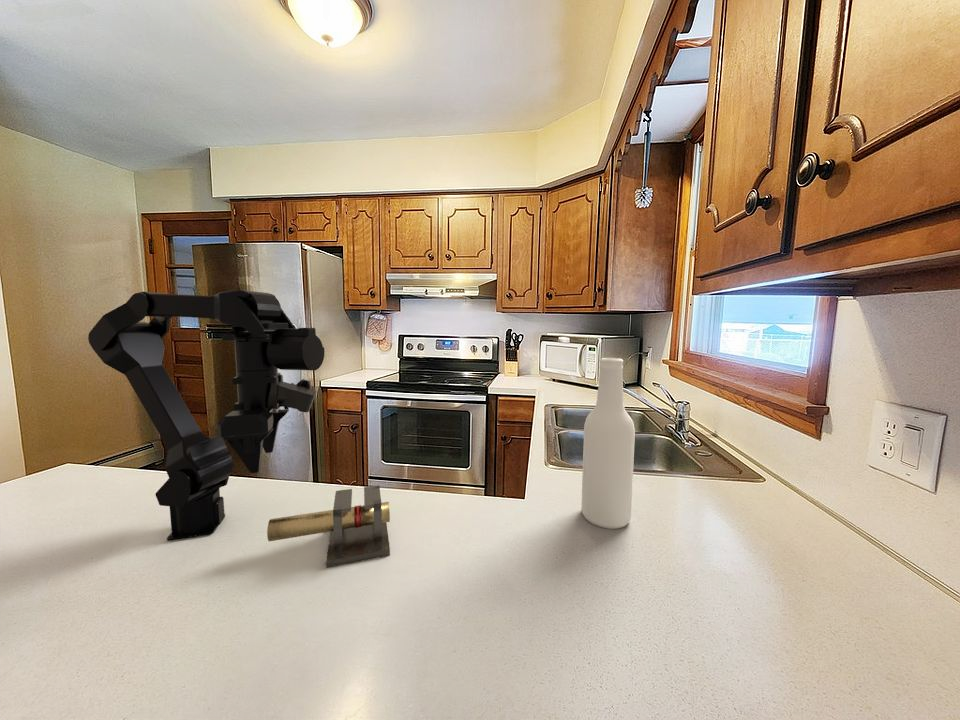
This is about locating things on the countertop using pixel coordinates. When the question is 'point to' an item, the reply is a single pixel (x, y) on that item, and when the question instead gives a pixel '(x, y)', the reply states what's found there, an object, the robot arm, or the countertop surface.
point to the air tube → (322, 522)
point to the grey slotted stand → (357, 531)
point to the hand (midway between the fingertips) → (262, 461)
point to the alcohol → (608, 453)
